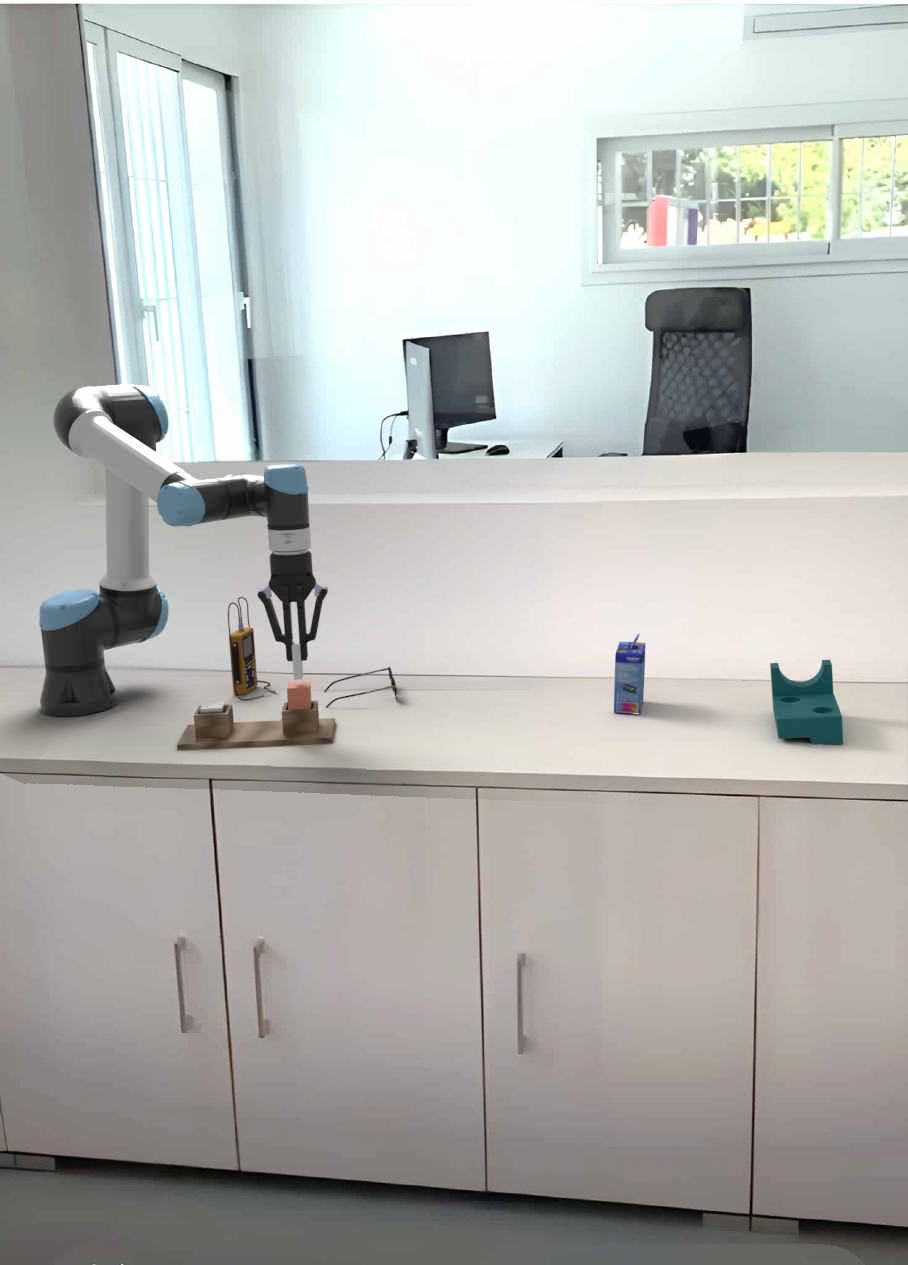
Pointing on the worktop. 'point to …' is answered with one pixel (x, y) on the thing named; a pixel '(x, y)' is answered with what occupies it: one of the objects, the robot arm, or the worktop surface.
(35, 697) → the worktop surface
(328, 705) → the sunglasses
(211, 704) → the steel plug
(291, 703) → the salmon pink plug
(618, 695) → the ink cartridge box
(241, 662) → the multimeter
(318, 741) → the socket panel
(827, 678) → the teal l-shaped bracket
